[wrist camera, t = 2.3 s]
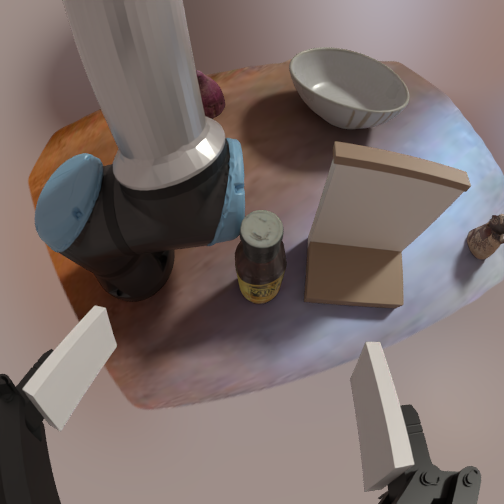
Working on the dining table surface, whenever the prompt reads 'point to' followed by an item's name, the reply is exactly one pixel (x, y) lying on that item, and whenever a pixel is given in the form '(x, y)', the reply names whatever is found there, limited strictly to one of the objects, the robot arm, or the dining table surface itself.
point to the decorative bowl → (348, 87)
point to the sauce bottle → (260, 256)
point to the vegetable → (210, 95)
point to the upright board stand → (373, 223)
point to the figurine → (487, 237)
